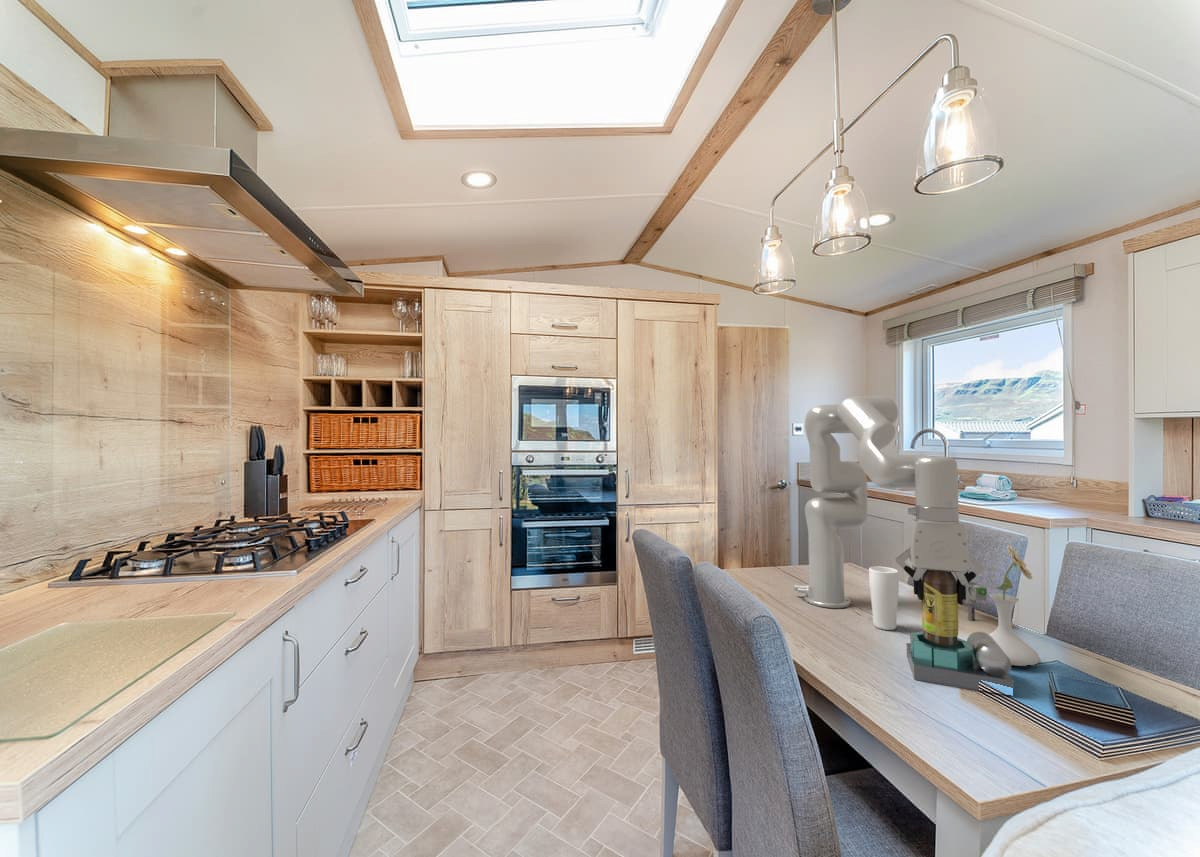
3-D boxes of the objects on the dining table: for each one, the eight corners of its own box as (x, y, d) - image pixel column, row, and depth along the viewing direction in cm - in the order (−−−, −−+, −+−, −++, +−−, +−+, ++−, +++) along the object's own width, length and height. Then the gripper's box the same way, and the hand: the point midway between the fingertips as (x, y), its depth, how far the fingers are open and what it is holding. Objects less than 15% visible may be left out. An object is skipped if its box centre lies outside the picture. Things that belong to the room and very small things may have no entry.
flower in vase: (1025, 676, 101) (1021, 554, 102) (963, 655, 111) (959, 544, 112) (1054, 662, 107) (1050, 547, 108) (992, 644, 117) (989, 538, 118)
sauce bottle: (918, 633, 107) (916, 542, 107) (952, 637, 105) (949, 543, 105) (928, 645, 101) (925, 548, 101) (964, 649, 99) (961, 549, 99)
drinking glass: (898, 624, 130) (896, 567, 130) (901, 633, 123) (900, 573, 124) (869, 621, 132) (867, 565, 133) (871, 629, 126) (869, 571, 127)
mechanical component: (965, 613, 138) (964, 577, 138) (990, 627, 128) (989, 588, 128) (954, 613, 138) (953, 577, 138) (978, 626, 128) (977, 588, 128)
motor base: (914, 679, 100) (913, 639, 100) (906, 656, 110) (906, 620, 111) (1013, 696, 93) (1012, 654, 93) (995, 670, 103) (994, 632, 104)
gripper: (891, 514, 104) (893, 600, 103) (992, 519, 96) (995, 612, 96) (888, 510, 111) (890, 590, 110) (982, 514, 103) (985, 600, 103)
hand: (939, 599), depth 103 cm, fingers closed on sauce bottle, 6 cm apart
